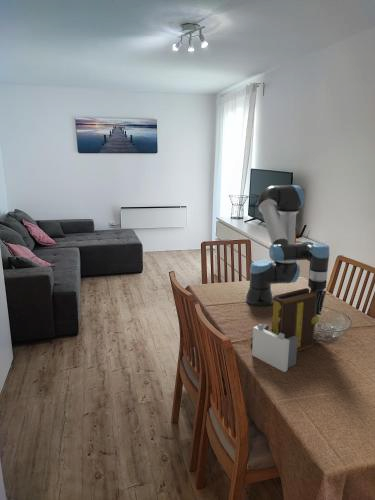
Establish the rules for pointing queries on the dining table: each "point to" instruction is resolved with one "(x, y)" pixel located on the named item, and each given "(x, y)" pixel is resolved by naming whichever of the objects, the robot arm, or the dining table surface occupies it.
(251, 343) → the hinge block
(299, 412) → the dining table surface
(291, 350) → the carcass
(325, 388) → the dining table surface
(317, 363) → the dining table surface
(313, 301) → the book
